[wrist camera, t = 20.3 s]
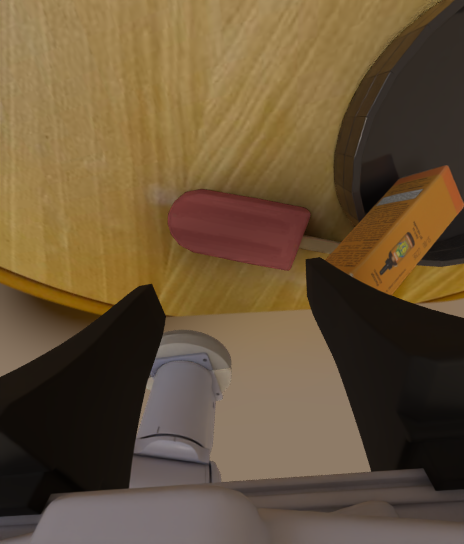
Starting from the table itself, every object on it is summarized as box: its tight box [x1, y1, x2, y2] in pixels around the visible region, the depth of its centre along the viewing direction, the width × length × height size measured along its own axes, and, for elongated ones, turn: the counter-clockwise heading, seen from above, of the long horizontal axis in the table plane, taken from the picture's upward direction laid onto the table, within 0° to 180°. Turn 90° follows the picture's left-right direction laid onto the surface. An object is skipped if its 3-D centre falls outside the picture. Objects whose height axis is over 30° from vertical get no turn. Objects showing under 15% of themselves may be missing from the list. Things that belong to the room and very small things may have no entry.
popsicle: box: [168, 189, 341, 271], centre depth 20 cm, size 5×2×15 cm
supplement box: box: [325, 165, 464, 295], centre depth 16 cm, size 3×3×10 cm
